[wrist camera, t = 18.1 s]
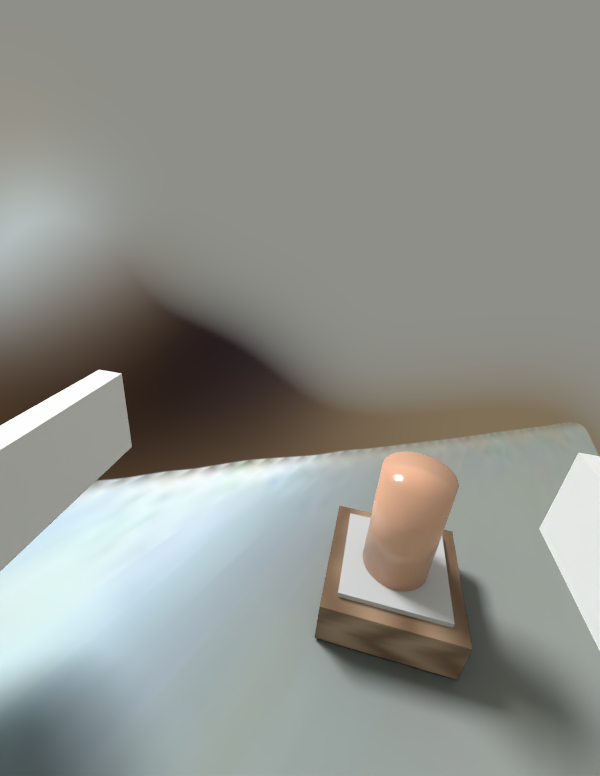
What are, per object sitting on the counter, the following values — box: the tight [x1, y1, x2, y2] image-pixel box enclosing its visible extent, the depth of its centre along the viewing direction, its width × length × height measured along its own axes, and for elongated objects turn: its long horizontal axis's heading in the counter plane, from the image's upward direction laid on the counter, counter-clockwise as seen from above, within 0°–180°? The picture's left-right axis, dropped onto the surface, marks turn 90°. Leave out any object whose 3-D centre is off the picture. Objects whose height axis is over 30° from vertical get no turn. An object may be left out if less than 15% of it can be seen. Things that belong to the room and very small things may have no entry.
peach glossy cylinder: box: [363, 452, 459, 591], centre depth 38 cm, size 7×7×12 cm
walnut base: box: [315, 506, 472, 680], centre depth 42 cm, size 14×14×6 cm
